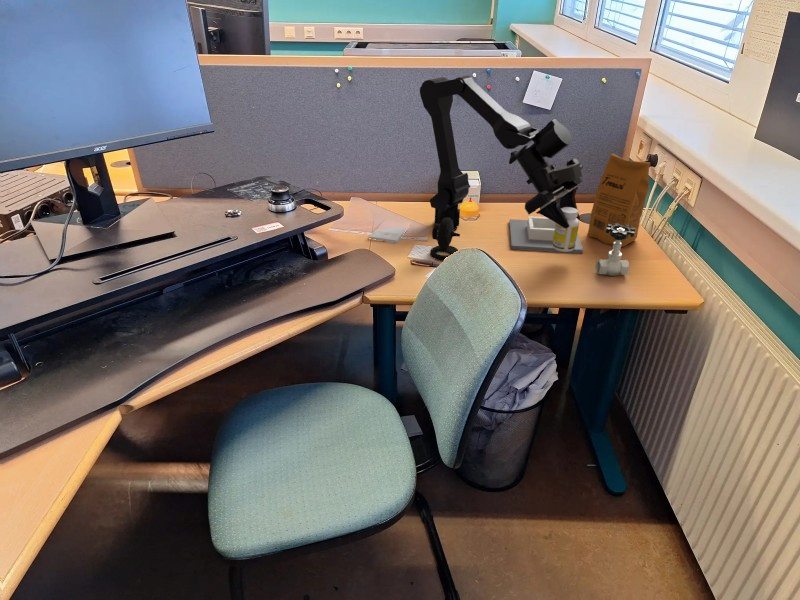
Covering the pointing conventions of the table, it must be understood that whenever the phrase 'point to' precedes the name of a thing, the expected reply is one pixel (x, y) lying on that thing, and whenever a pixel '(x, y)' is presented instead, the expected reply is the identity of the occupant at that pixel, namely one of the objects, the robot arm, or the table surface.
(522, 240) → the socket board
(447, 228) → the webcam
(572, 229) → the supplement bottle
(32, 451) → the table surface
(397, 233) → the external hard drive
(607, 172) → the coffee package
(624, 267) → the valve
